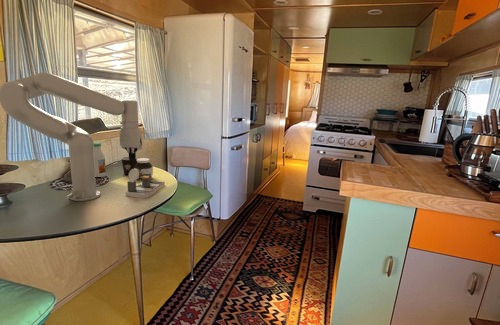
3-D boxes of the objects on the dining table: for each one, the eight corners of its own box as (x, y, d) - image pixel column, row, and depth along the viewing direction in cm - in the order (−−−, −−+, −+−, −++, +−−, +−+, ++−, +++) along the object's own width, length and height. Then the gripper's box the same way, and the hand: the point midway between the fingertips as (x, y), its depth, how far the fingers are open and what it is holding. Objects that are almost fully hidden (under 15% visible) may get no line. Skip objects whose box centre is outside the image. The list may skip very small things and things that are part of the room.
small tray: (146, 198, 132) (146, 184, 130) (125, 195, 133) (125, 182, 131) (164, 185, 151) (164, 173, 150) (146, 183, 152) (145, 171, 151)
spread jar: (154, 176, 165) (154, 158, 163) (147, 182, 154) (146, 162, 152) (135, 175, 166) (134, 157, 163) (126, 181, 155) (125, 161, 152)
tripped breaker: (147, 186, 140) (147, 177, 139) (142, 186, 140) (142, 177, 139) (150, 185, 143) (149, 176, 141) (144, 184, 143) (144, 175, 142)
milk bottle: (94, 179, 155) (91, 144, 150) (89, 175, 160) (86, 142, 155) (108, 176, 160) (106, 143, 156) (103, 173, 165) (101, 141, 161)
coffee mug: (119, 174, 165) (118, 158, 163) (128, 171, 173) (128, 156, 171) (134, 177, 162) (134, 161, 160) (144, 173, 170) (143, 158, 168)
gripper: (111, 124, 132) (114, 160, 137) (140, 126, 131) (142, 163, 135) (121, 123, 140) (123, 157, 144) (148, 124, 138) (149, 159, 142)
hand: (132, 160), depth 139 cm, fingers closed
